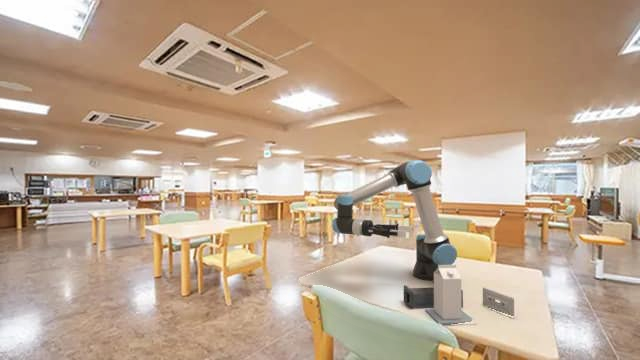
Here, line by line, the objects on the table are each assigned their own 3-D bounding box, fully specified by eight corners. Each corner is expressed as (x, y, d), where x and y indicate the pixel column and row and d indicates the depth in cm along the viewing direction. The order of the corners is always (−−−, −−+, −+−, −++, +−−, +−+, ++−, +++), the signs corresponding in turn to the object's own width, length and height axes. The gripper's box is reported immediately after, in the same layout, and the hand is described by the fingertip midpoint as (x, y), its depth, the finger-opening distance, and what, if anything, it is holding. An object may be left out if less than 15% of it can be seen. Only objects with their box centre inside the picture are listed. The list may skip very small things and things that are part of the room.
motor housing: (453, 300, 118) (452, 284, 118) (462, 307, 111) (462, 290, 111) (402, 301, 116) (402, 285, 116) (409, 309, 109) (409, 292, 109)
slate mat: (458, 309, 108) (458, 307, 108) (476, 324, 98) (476, 321, 98) (425, 311, 107) (425, 309, 107) (439, 325, 96) (439, 323, 96)
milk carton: (433, 310, 106) (433, 262, 106) (451, 310, 107) (450, 262, 107) (443, 319, 99) (443, 268, 99) (461, 319, 100) (461, 267, 100)
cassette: (481, 306, 112) (481, 287, 112) (484, 305, 113) (484, 286, 113) (512, 319, 101) (512, 298, 102) (515, 318, 102) (515, 297, 102)
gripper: (372, 231, 138) (414, 235, 128) (353, 240, 117) (402, 246, 106) (372, 217, 139) (414, 220, 128) (353, 223, 117) (402, 227, 106)
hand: (409, 231), depth 117 cm, fingers open, 13 cm apart
